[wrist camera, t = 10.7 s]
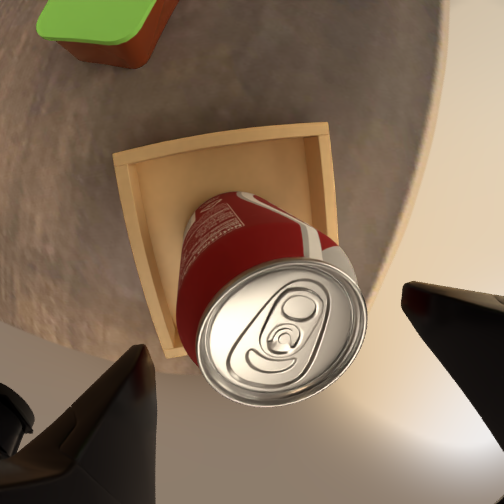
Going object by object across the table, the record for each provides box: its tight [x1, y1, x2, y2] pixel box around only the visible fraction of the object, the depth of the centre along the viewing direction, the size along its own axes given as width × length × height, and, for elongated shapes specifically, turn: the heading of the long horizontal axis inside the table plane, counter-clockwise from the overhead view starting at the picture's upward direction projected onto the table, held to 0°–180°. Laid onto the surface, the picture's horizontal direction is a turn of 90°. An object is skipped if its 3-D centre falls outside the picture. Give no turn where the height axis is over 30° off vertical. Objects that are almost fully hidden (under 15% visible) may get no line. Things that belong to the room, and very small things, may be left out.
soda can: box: [176, 191, 367, 407], centre depth 14 cm, size 7×7×12 cm
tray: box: [112, 122, 338, 359], centre depth 19 cm, size 14×13×3 cm
